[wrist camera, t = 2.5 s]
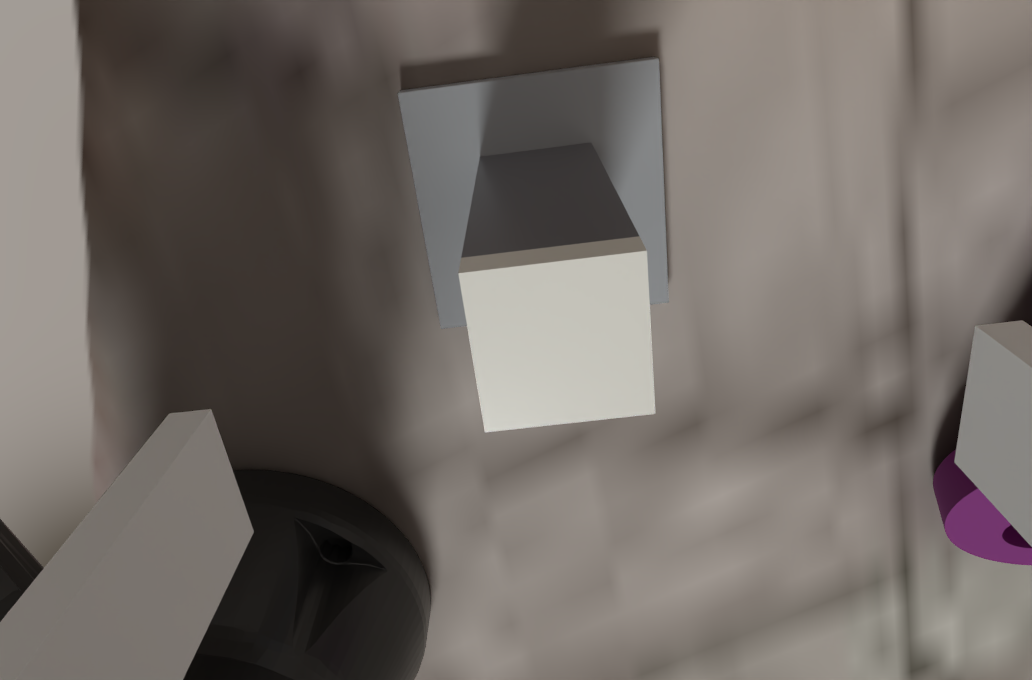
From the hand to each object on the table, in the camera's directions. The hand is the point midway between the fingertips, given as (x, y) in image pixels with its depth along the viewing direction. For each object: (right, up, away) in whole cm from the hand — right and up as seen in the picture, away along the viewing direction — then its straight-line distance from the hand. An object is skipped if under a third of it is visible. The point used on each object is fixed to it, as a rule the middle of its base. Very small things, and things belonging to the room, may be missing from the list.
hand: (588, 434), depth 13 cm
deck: (0, +7, +15) cm, 17 cm away
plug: (0, +7, +14) cm, 16 cm away
